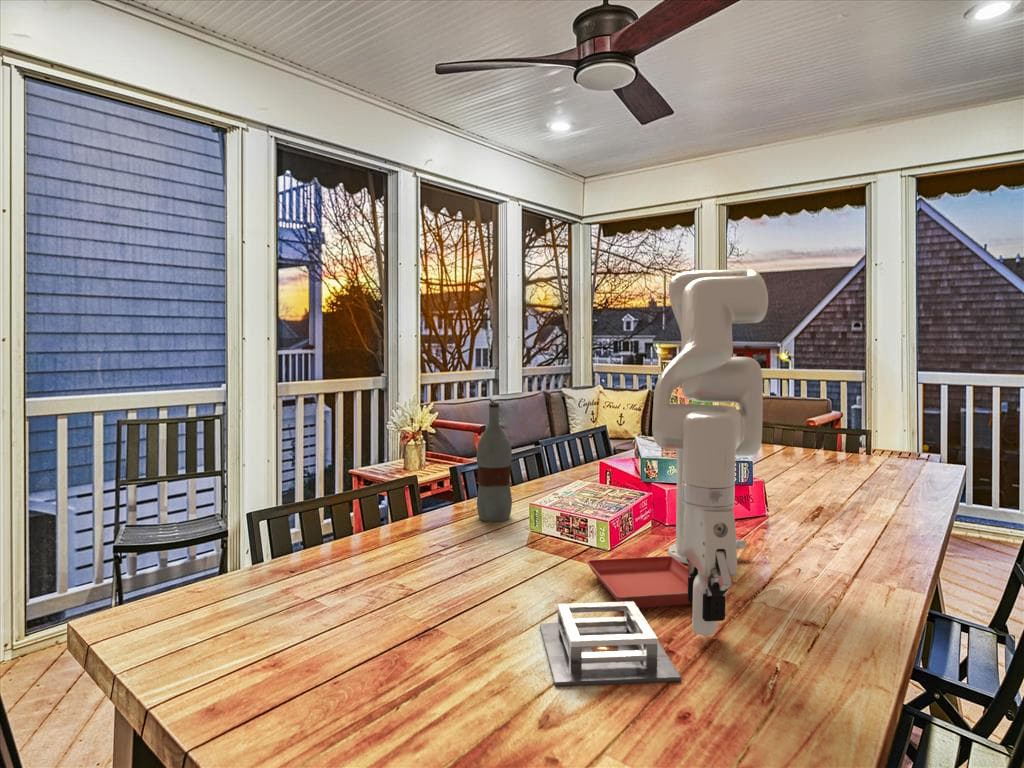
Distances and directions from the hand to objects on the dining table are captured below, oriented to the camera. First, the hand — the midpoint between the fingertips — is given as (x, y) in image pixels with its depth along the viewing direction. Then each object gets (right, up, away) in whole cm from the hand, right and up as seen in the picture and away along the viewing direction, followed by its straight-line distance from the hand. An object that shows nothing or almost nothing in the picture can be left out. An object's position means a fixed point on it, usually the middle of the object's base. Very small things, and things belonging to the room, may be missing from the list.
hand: (705, 609), depth 93 cm
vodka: (-34, -1, +66) cm, 74 cm away
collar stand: (-16, -5, -4) cm, 17 cm away
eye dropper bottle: (0, -3, 0) cm, 3 cm away
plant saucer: (-5, -4, +19) cm, 20 cm away
